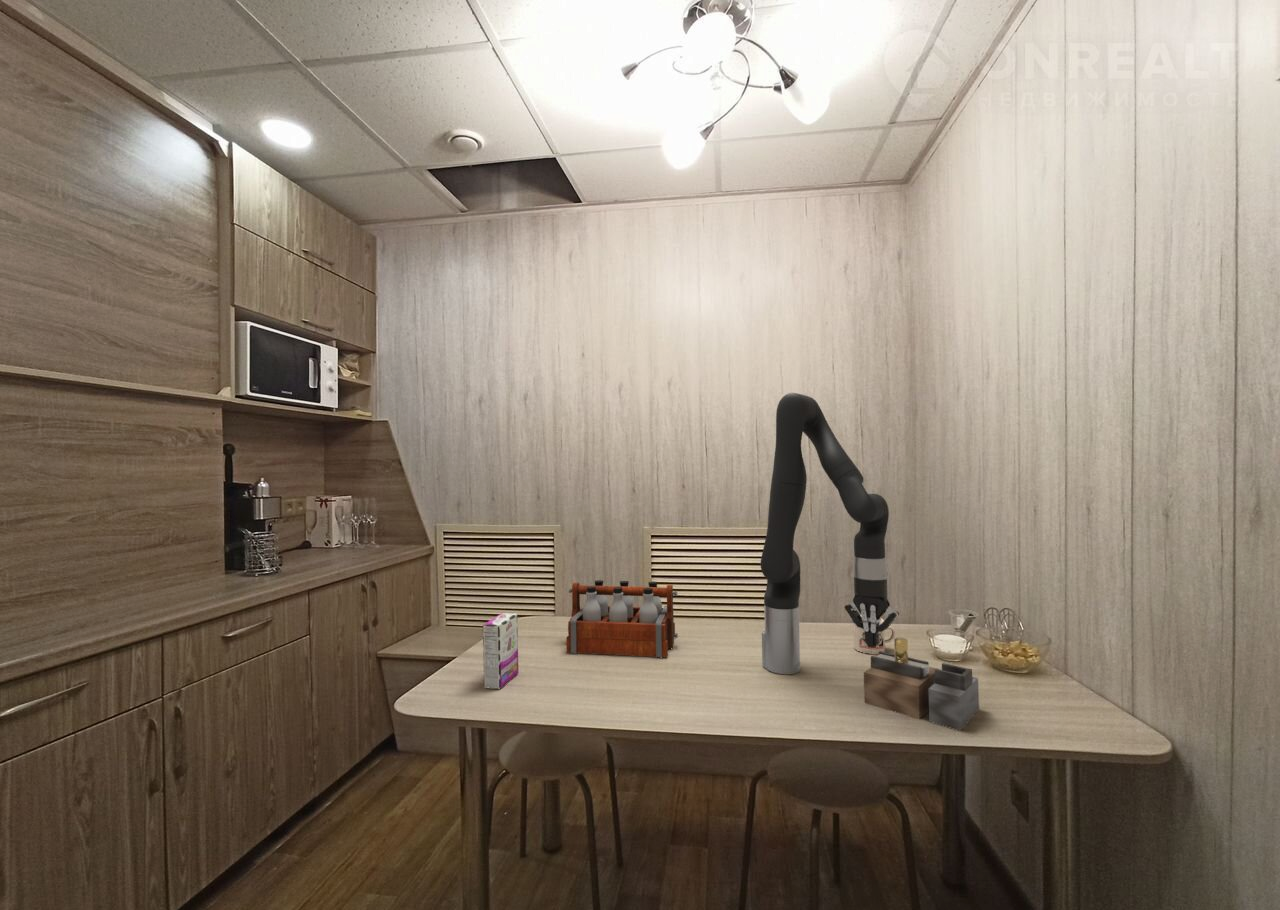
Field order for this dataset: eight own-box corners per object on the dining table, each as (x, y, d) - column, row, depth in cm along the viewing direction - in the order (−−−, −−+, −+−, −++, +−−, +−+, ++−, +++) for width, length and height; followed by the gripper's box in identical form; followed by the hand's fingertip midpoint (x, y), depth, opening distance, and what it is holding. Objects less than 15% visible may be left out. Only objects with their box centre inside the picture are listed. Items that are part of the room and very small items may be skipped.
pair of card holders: (864, 702, 126) (863, 659, 126) (887, 685, 136) (886, 645, 136) (960, 731, 112) (959, 682, 112) (979, 709, 122) (977, 664, 122)
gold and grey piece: (875, 665, 130) (874, 635, 130) (880, 662, 132) (879, 633, 132) (924, 677, 122) (923, 646, 122) (929, 673, 124) (928, 642, 124)
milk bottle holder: (579, 633, 184) (578, 576, 184) (681, 637, 177) (680, 578, 178) (558, 654, 163) (558, 589, 164) (674, 660, 157) (673, 593, 157)
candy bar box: (502, 672, 148) (501, 612, 149) (519, 673, 147) (518, 613, 148) (482, 689, 137) (481, 623, 138) (500, 690, 136) (500, 624, 137)
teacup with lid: (857, 654, 158) (856, 614, 159) (849, 644, 167) (848, 606, 168) (900, 655, 157) (899, 615, 157) (890, 645, 166) (889, 607, 166)
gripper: (837, 574, 135) (839, 644, 134) (892, 581, 125) (894, 657, 125) (850, 570, 140) (852, 637, 139) (904, 576, 130) (906, 649, 130)
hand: (872, 646), depth 132 cm, fingers closed
